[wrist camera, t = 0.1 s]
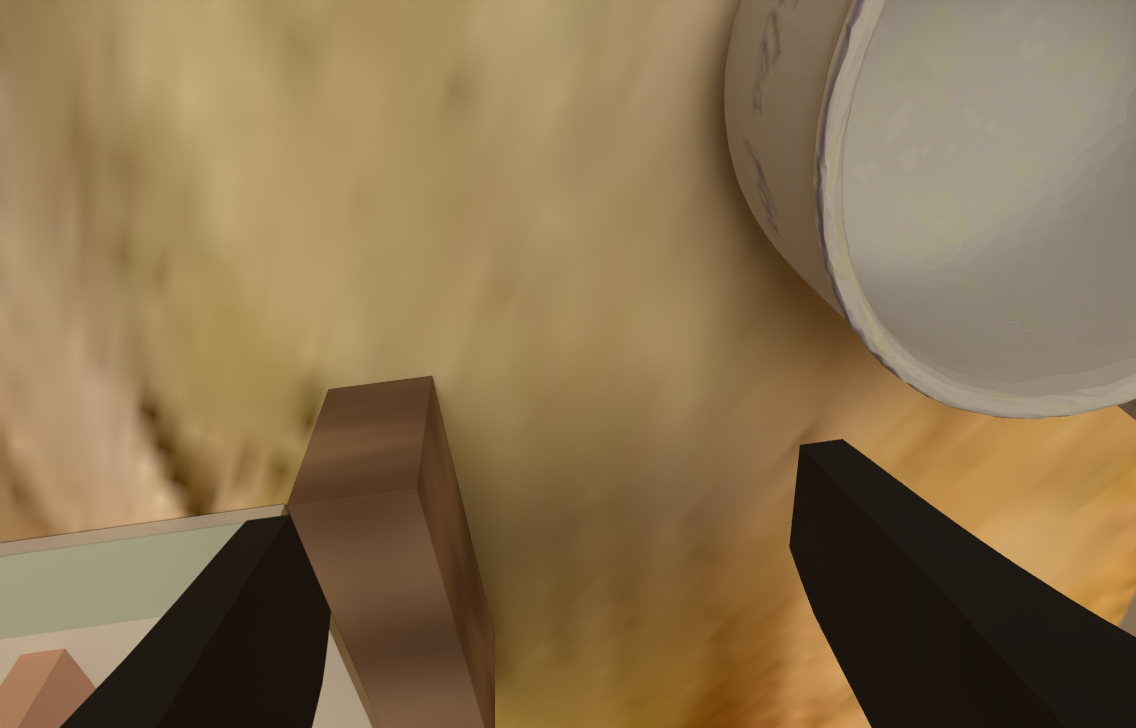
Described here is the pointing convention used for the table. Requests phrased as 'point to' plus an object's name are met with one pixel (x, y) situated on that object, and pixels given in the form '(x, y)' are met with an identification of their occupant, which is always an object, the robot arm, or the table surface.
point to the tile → (42, 690)
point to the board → (135, 599)
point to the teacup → (953, 186)
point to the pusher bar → (397, 555)
